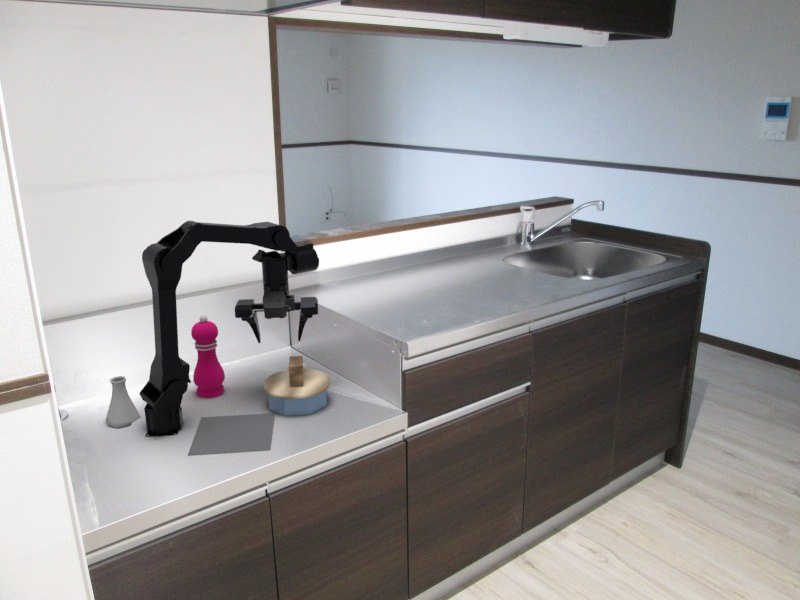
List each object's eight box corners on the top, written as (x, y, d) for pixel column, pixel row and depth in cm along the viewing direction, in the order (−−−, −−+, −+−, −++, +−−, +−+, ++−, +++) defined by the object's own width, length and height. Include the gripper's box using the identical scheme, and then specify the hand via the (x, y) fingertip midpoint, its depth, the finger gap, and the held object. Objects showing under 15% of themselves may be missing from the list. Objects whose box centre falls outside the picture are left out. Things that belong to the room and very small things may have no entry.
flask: (130, 409, 145) (125, 369, 142) (147, 419, 141) (142, 377, 138) (99, 421, 140) (93, 379, 137) (116, 432, 135) (109, 389, 132)
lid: (261, 400, 138) (259, 376, 136) (266, 373, 152) (264, 350, 150) (330, 396, 140) (329, 372, 138) (329, 369, 154) (328, 347, 152)
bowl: (267, 419, 141) (266, 398, 139) (271, 393, 153) (270, 374, 151) (327, 415, 142) (326, 395, 141) (326, 390, 155) (325, 371, 153)
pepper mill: (232, 392, 154) (225, 313, 148) (209, 403, 148) (201, 322, 142) (212, 385, 157) (204, 308, 151) (188, 396, 152) (179, 316, 146)
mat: (187, 458, 125) (187, 455, 125) (201, 419, 140) (201, 417, 140) (270, 452, 127) (270, 450, 127) (275, 415, 142) (275, 413, 142)
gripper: (229, 289, 136) (234, 356, 141) (316, 285, 139) (319, 352, 143) (235, 275, 147) (240, 339, 152) (316, 273, 149) (319, 335, 154)
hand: (279, 341), depth 150 cm, fingers open, 9 cm apart
